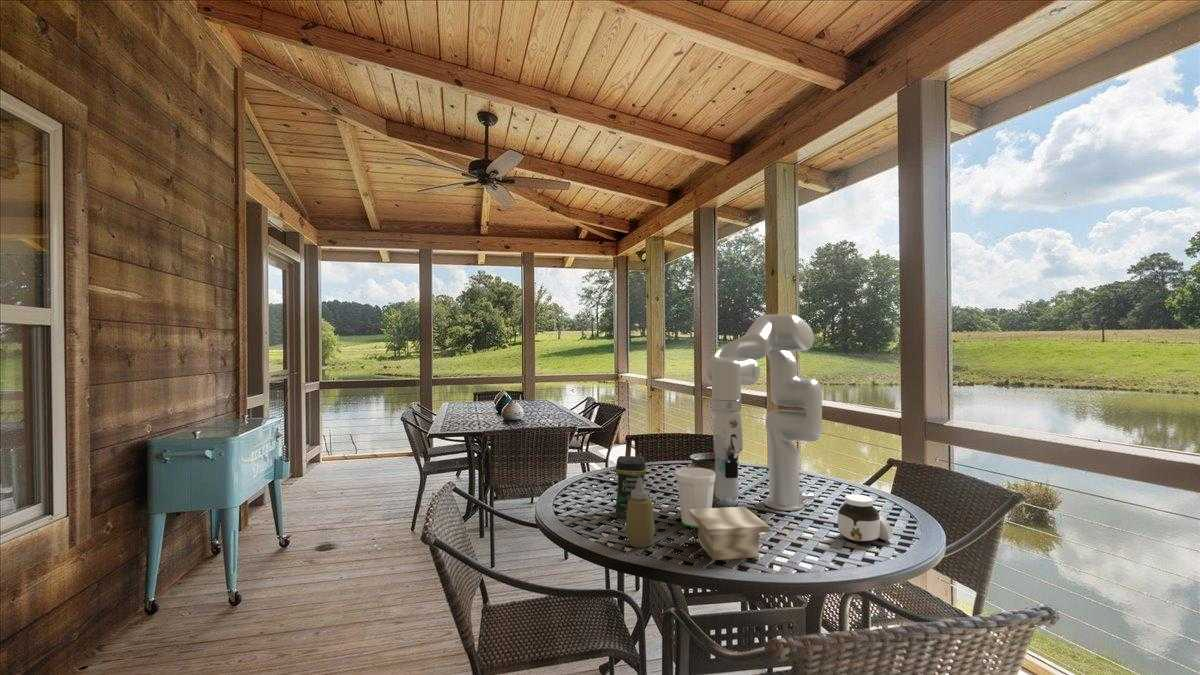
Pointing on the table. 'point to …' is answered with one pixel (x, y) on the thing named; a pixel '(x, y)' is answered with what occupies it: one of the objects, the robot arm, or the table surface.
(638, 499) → the squeeze bottle
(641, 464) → the coffee jar
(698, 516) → the stand
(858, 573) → the table surface
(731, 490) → the bottle
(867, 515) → the spread jar
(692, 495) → the cup
